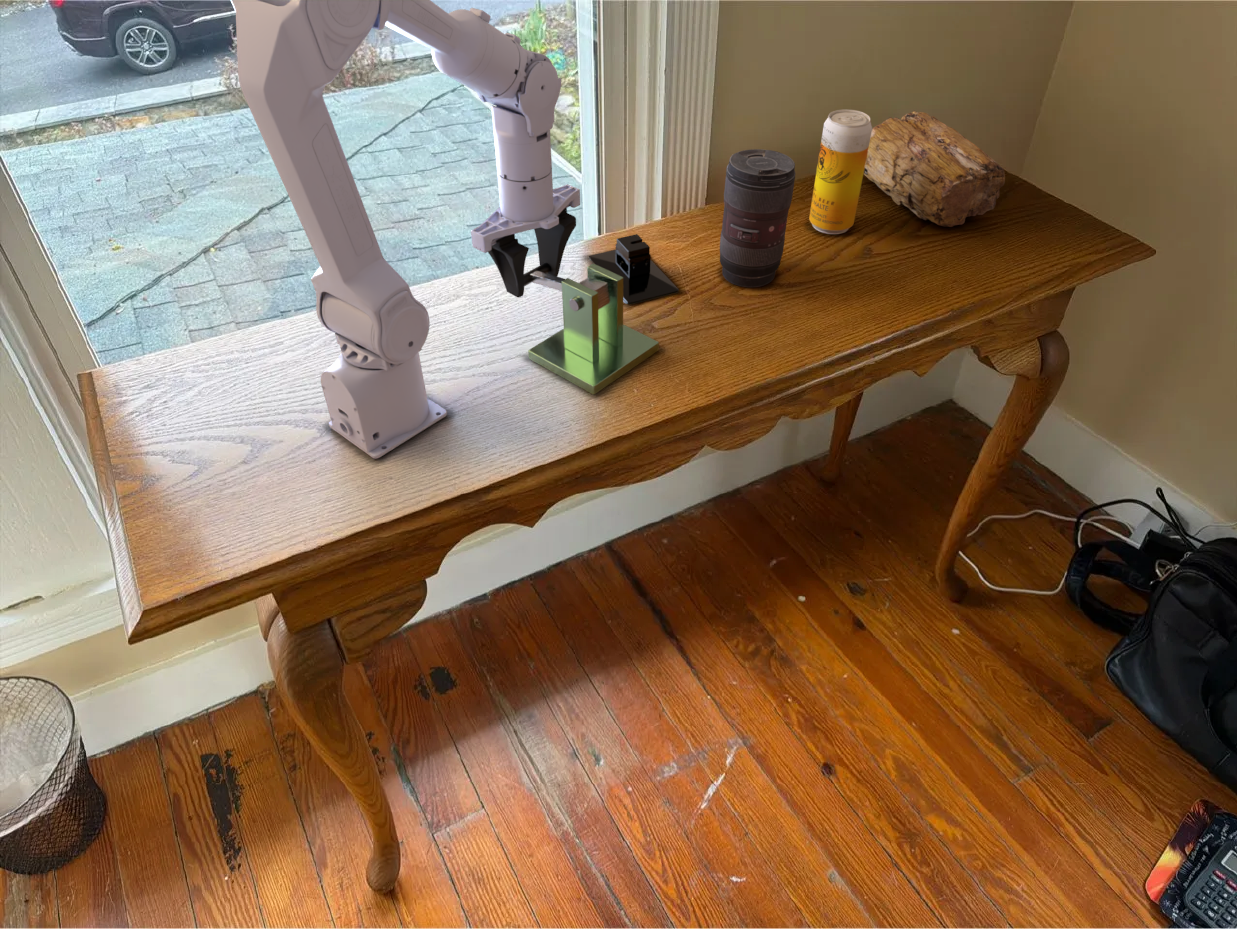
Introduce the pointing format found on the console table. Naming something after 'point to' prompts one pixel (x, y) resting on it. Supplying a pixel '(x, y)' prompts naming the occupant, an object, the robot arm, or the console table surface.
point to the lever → (554, 282)
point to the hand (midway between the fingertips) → (532, 283)
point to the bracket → (593, 336)
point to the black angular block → (635, 270)
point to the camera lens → (755, 215)
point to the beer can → (840, 170)
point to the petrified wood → (932, 169)
